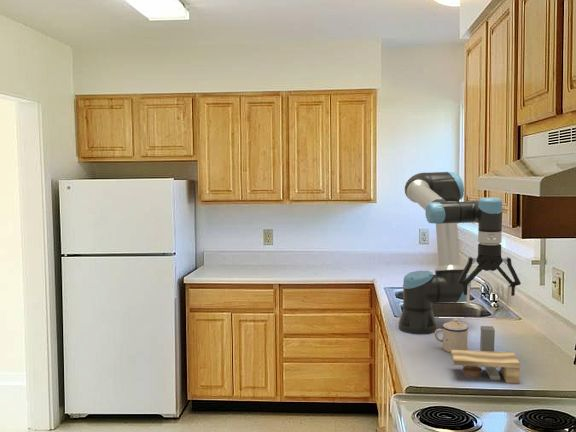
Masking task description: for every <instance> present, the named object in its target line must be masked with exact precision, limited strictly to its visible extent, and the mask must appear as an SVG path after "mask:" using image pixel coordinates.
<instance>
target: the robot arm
mask: <svg viewBox="0 0 576 432" xmlns="http://www.w3.org/2000/svg"><path fill="white" fill-rule="evenodd" d="M464 193H465V187H464V182H463V179H462V178H461V176H460V174H458V173H457V172H454V171H453V172H451V171H438V172H437V171H436V172H419V173H416V174H414V175H412V176H411V177H410V178H409V179H407V181H406V182H405V185H404V194H405V196H406V198H407V199H408V200H409V201H411V202H413V203H414V204H415V203H417V205H418V206H420V207H421V208H422V209H423V210H424V211H425V213H424V214H425V218H426V221H427V223H429V224H434V225H435V232H436V244H437V246H436V247H437V261H438V267H436V269H435V270H434V272H435V274H433V272H432V271H430V270H416V271H412V272H408V273H407V274H405V275H404V277H403V284H402V290H403V291H402V292H403V294H402V296H403V298H402V300H403V301H402V306H403V307H402V308H403V309H402V312H401V315H400V318H399V320H398V329H399V330H400V331H402V332H405V333H409V334H412V335H413V334H415V335H427V334H431V333H435V331H436V330H437V322H436V318H435V315H434V312H433V304H448V303H449V304H450V303H451V304H452V303H453V304H457V303H463V302H465V303H466V305H467V306H469V305H471V304H470V303H471V302H470V295H471V294H470V293H471V289H472V288H471V287H472V281H473V280H474V279H475V278H476V276H477V275H478V274H479V273H480V272H482V271H485V272H487V271H488V272H489V271H491V272H495V271H498V272H499V273H500V275H501V276H502V277H503V278H504V279H505V281H507V283H508V284H509V285H508V284H507V292H506V293H507V295H506V296H507V298H506V299H507V300H506V303H507V305H508V307H511V306H512V297H514V296H515V294H516V293H515V292H516V291H515V290H516V286H520V285H521V284H522V283H521V281H520V279H519V276H518V275H517V272H516V271H515V268H514V267H513V265H512V259H511V257H509V256H506V257H502V244H501V243H502V237H503V235H502V234H503V233H502V232H503V231H502V230H503V229H502V228H503V227H502V226H503V211H504V208H503V200H502V199H501V198H499V197H481V198H480V199H479V200H478V199H476V200H469V201H460V200H462V199H463V198H464ZM466 223H467V224H469V223H471V224H473V223H474V224H475V223H477V224H478V235H477V237H478V238H477V239H478V240H477V242H478V244H477V257H473V256H468V258H467V263H466V264H465V267H463V266H461V259H460V257H461V256H460V245H459V232H458V230H459V229H458V224H466ZM475 263H477V264H478V265H477V266H476V268H474V270H472V272H471V273H470V274H468V273H469V271H470V269H471V268H472V266H473V265H474V264H475ZM502 263H504V264H505V265H506V267H507V268H508V270H509V272H510V274H511V277H512V278H513V280H514V281H513V280H512V279H511V278H510V277H509V275H508V274H507V273H506V272H505V271H504V269H503V268H501V265H502Z"/></svg>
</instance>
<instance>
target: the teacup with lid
mask: <svg viewBox="0 0 576 432" xmlns="http://www.w3.org/2000/svg"><path fill="white" fill-rule="evenodd" d="M468 330H469V327H468V325H467V324H466V323H464V322H461V321H460V320H459V319H458V318H455V317H454V318H453V319H452V320H450V321H448V322H444V323H443V324H442V328H436V331H435V332H433V333H434V334H433V335H434V338H435V340H436V341H437V342H439V343H442V350H443V351H445V352H448V353H451V350H468V336H469V335H468V332H469V331H468ZM438 332H442V339H440V338H439V337H438V335H437V333H438Z"/></svg>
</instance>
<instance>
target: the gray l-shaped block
mask: <svg viewBox="0 0 576 432" xmlns="http://www.w3.org/2000/svg"><path fill="white" fill-rule="evenodd" d="M495 333H496V331H495V328H494V326H492V325H480V342H479V344H480V345H479V346H480V347H479V349H480V350H479V351H495V337H496V335H495ZM484 368H485V371H486V373H487V376H488V377H489V380H492V381H493V380H495V381H501V375H500V373H499V371H498V369H497V367H485V366H484Z"/></svg>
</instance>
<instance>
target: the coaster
mask: <svg viewBox="0 0 576 432" xmlns="http://www.w3.org/2000/svg"><path fill="white" fill-rule="evenodd" d="M462 374H463V375H464V376H465V375H466V376H465V377H469V378H473V379H474V378H476V379H477V378H481V377H482V375H483V369H482V367H481V366H463V367H462Z"/></svg>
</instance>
